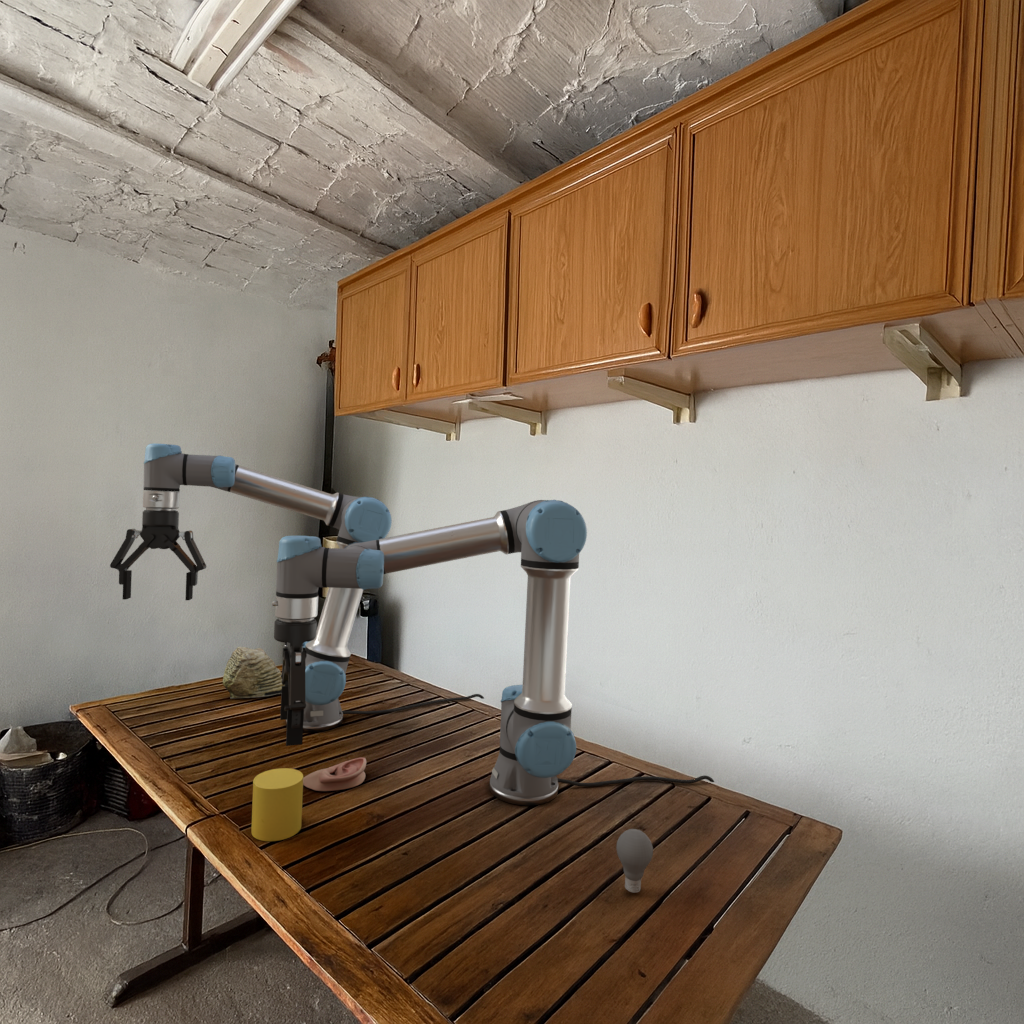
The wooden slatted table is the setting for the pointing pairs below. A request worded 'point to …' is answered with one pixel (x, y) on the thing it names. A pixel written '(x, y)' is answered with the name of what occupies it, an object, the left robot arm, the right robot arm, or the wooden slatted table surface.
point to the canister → (277, 804)
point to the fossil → (251, 674)
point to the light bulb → (634, 857)
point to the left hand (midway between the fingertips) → (158, 599)
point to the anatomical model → (337, 776)
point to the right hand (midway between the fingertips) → (290, 731)
